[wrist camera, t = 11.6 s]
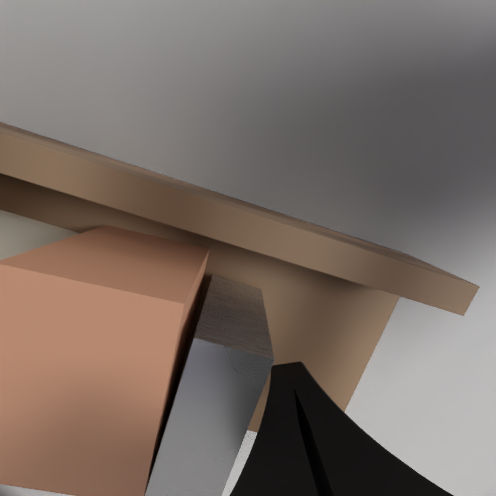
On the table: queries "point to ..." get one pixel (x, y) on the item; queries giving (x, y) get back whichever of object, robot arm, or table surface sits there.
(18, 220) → the cream book
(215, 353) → the grey rectangular block
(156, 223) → the wooden shelf
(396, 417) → the table surface
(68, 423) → the salmon orange block
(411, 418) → the table surface
